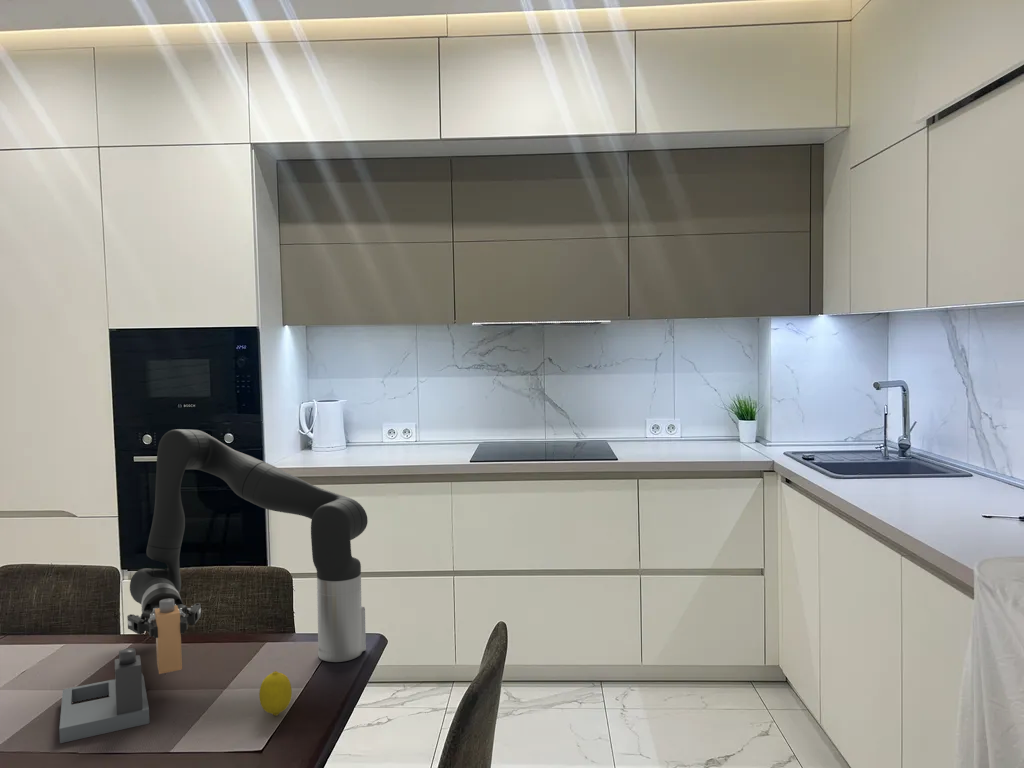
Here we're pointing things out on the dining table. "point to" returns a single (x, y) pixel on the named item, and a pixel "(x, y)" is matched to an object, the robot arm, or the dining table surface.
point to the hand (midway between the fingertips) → (169, 630)
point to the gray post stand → (106, 702)
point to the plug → (168, 637)
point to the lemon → (275, 693)
